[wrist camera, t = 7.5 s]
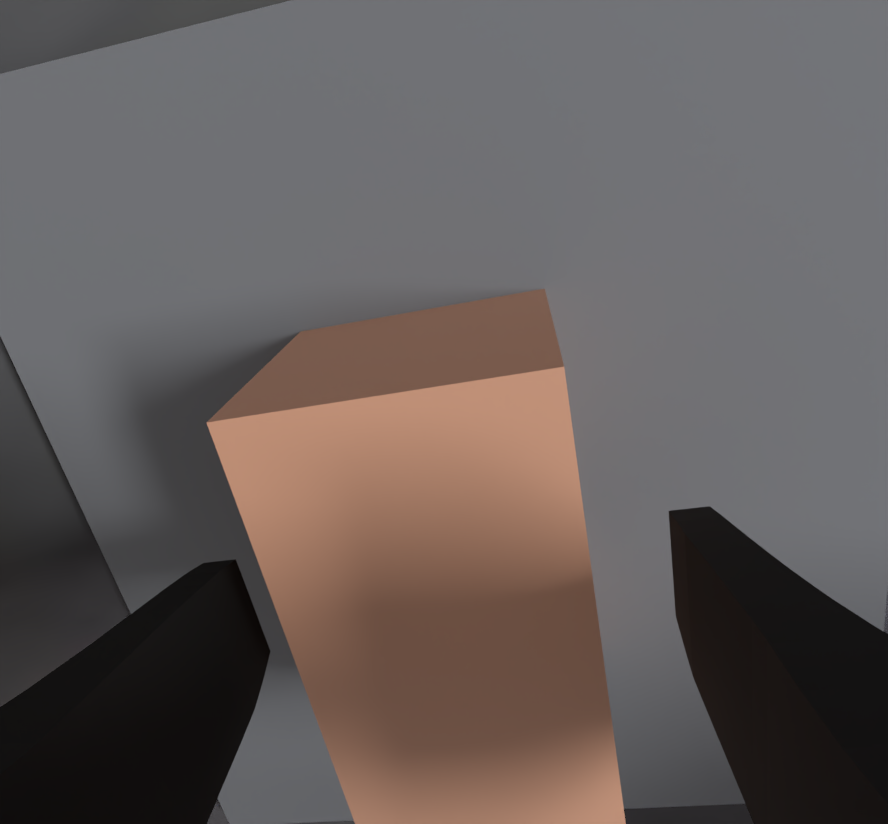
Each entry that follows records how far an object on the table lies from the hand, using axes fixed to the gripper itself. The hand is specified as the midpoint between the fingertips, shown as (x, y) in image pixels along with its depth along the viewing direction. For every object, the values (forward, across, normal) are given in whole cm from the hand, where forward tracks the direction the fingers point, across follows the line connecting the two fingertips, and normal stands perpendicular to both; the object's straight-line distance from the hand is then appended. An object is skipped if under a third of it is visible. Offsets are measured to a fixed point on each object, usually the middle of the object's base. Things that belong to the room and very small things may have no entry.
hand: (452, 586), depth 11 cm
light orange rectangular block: (+2, 0, 0) cm, 2 cm away
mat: (+3, 0, 0) cm, 3 cm away
